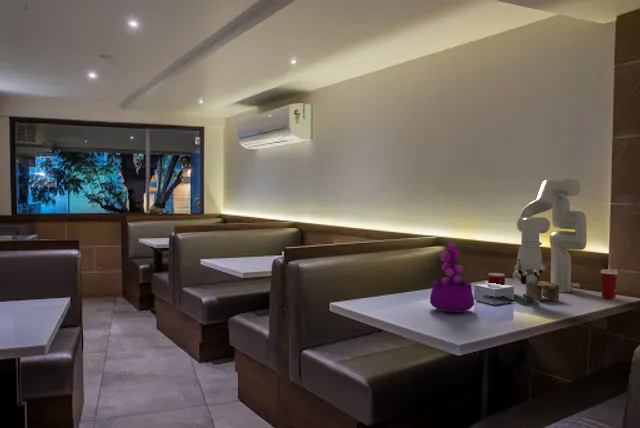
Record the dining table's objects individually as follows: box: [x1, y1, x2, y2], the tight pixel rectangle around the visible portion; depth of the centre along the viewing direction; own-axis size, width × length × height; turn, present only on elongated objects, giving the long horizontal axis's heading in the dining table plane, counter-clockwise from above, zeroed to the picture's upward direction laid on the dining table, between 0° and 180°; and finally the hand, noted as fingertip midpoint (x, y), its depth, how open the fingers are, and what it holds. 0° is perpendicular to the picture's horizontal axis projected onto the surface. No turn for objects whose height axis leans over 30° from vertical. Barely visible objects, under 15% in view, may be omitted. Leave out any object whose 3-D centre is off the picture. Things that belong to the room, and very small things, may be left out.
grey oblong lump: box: [512, 270, 538, 286], centre depth 235 cm, size 15×5×5 cm, turn 3°
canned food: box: [487, 272, 506, 286], centre depth 251 cm, size 8×8×11 cm
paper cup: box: [599, 268, 619, 300], centre depth 244 cm, size 8×8×14 cm
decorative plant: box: [429, 242, 475, 313], centre depth 218 cm, size 19×18×30 cm
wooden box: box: [525, 280, 560, 302], centre depth 243 cm, size 10×12×8 cm
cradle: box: [513, 293, 540, 306], centre depth 235 cm, size 8×12×3 cm, turn 3°
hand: (529, 283), depth 230 cm, fingers closed on grey oblong lump, 5 cm apart
